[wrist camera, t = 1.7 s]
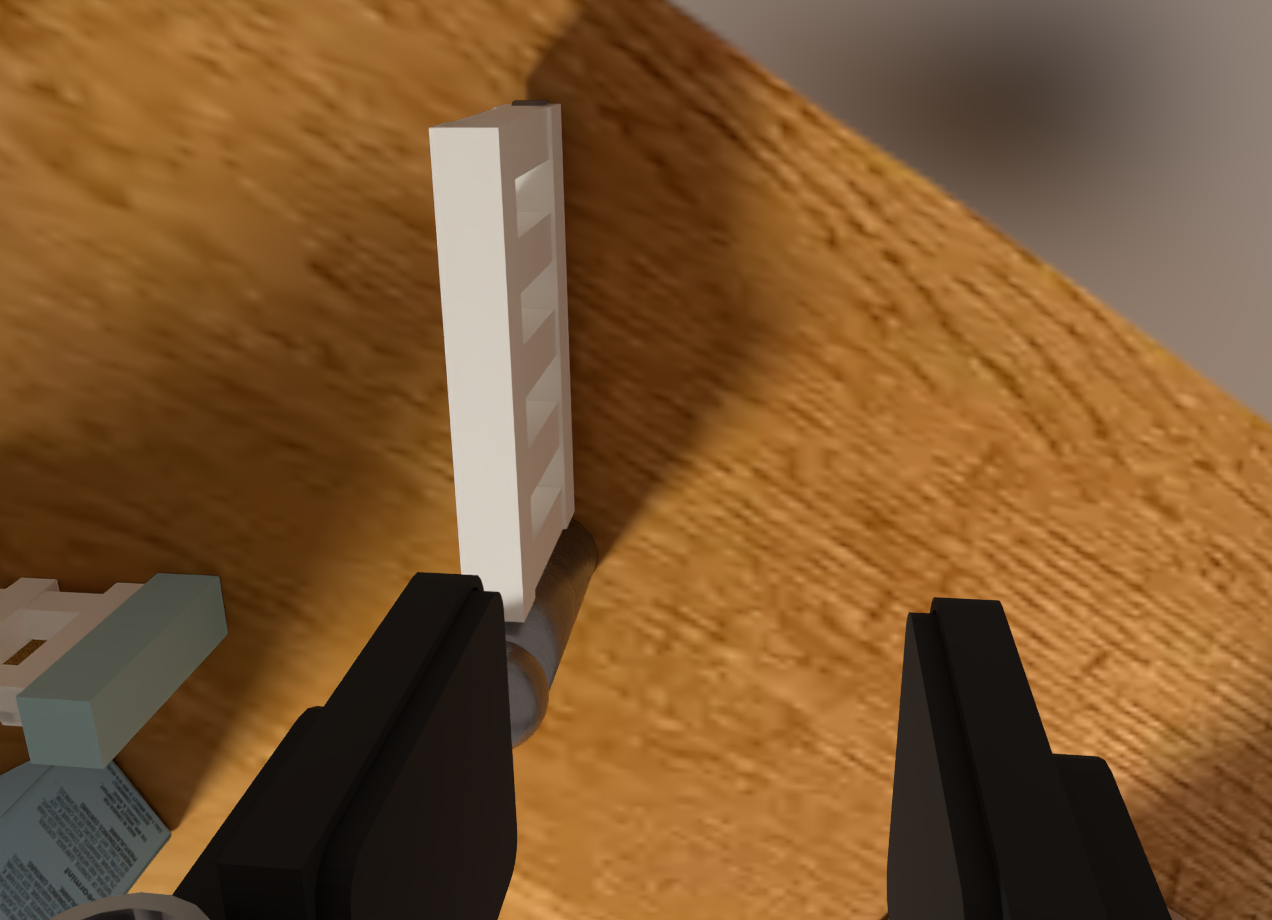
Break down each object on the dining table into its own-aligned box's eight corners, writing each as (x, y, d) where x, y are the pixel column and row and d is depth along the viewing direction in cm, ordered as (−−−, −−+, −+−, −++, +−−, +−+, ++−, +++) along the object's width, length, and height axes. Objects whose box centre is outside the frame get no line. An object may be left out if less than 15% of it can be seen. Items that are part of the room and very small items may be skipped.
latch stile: (219, 576, 36) (89, 701, 29) (228, 634, 36) (103, 769, 30) (157, 573, 36) (15, 696, 29) (167, 630, 37) (31, 763, 30)
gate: (577, 504, 33) (524, 622, 27) (528, 503, 33) (464, 619, 27) (564, 98, 29) (498, 121, 23) (509, 98, 29) (427, 122, 23)
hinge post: (599, 513, 33) (532, 679, 25) (601, 595, 34) (537, 781, 26) (510, 509, 33) (414, 672, 25) (514, 590, 34) (424, 773, 26)
